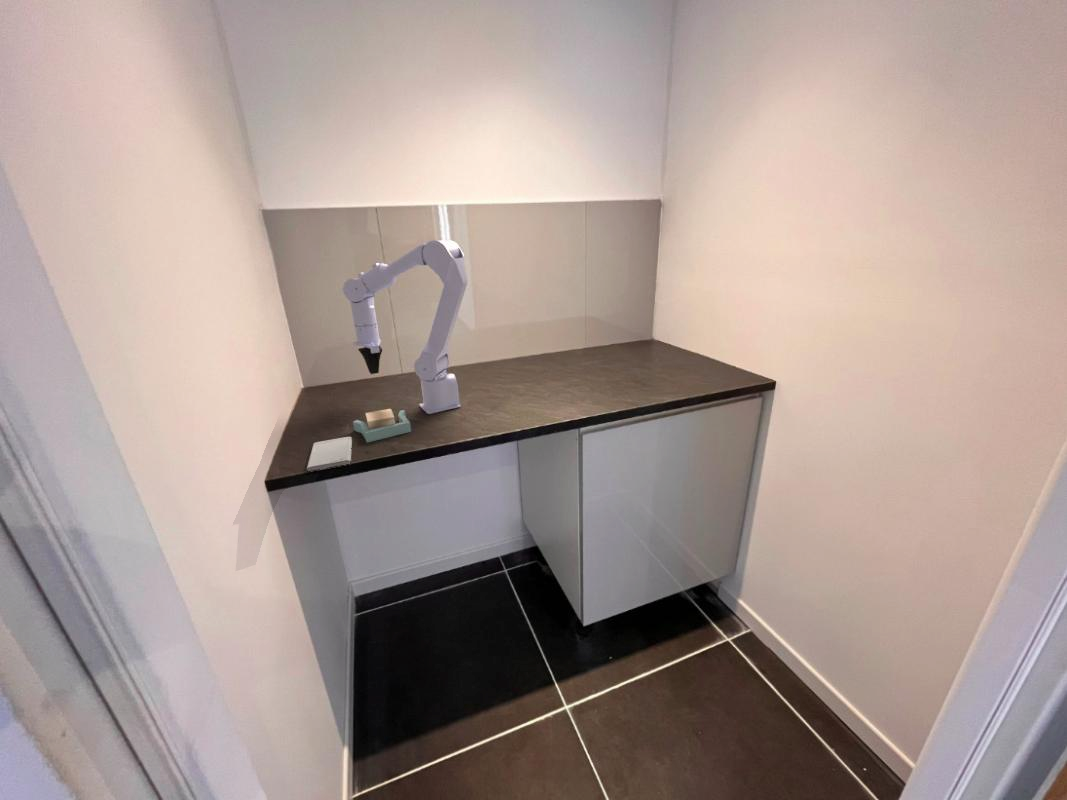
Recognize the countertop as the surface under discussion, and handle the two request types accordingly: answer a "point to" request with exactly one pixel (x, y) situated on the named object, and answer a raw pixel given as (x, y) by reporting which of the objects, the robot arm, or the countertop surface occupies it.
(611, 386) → the countertop surface
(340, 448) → the hard drive
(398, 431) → the dock
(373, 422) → the birch block
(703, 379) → the countertop surface
